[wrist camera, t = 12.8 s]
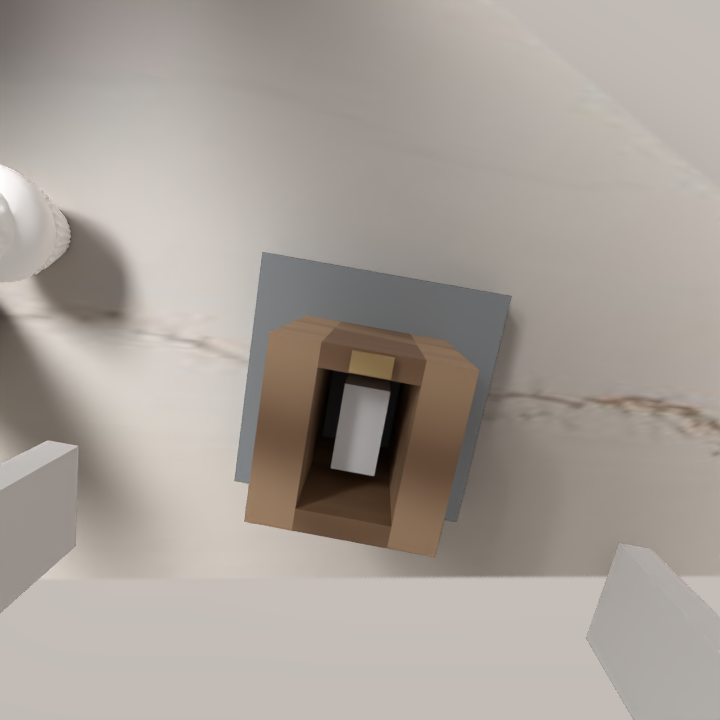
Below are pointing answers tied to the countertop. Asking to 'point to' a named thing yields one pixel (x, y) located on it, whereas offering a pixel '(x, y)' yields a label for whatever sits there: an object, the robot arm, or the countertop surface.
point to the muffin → (28, 228)
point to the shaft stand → (379, 310)
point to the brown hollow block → (314, 452)
